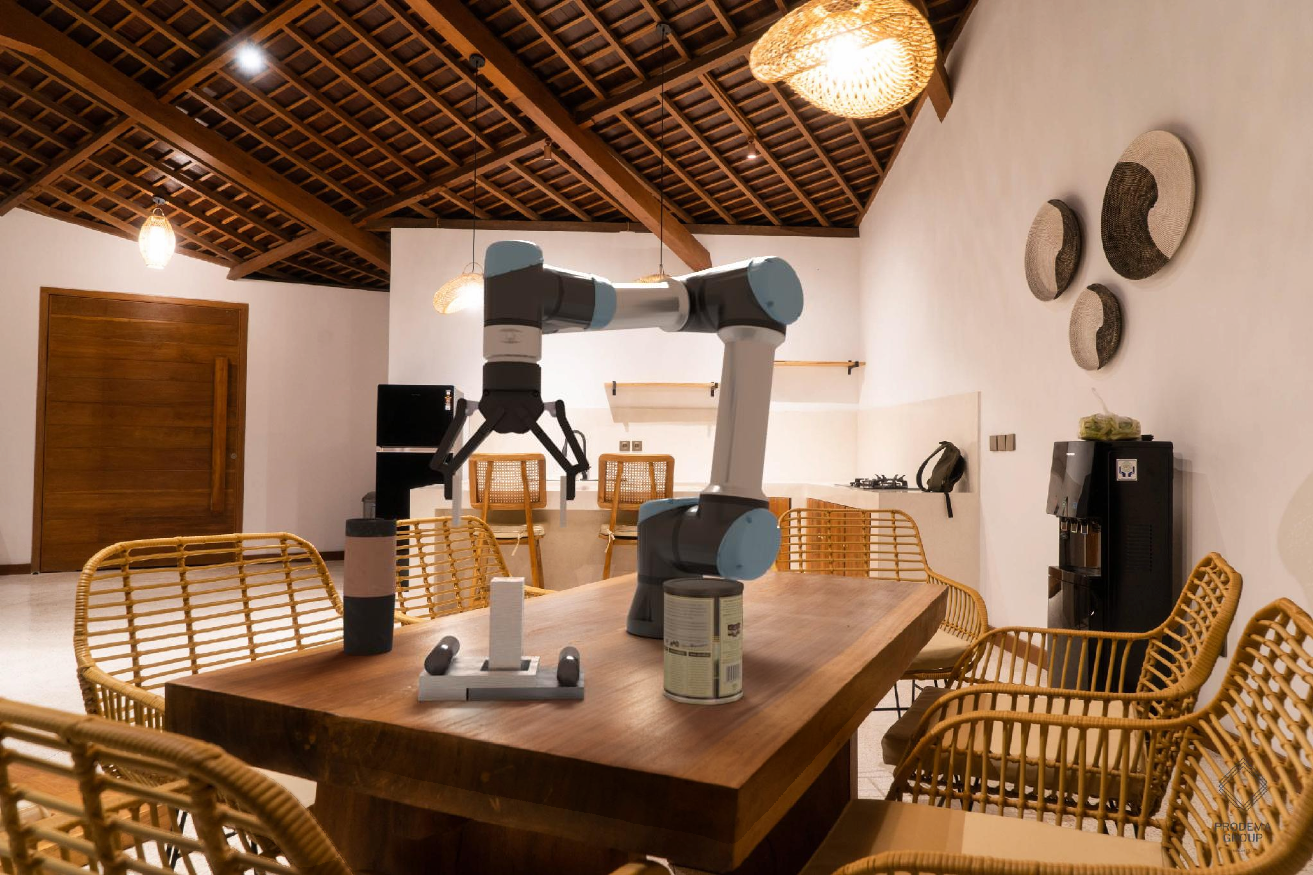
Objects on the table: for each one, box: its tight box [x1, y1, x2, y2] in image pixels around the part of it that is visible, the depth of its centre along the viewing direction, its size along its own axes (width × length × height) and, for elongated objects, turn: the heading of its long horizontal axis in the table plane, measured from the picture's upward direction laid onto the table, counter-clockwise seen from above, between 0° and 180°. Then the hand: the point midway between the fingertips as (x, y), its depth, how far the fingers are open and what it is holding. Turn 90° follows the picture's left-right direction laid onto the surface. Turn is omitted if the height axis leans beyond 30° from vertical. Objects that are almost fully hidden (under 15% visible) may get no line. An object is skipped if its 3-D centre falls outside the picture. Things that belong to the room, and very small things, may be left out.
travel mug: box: [342, 517, 398, 656], centre depth 127 cm, size 8×8×20 cm
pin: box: [488, 576, 526, 671], centre depth 106 cm, size 4×4×14 cm
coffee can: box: [662, 577, 745, 706], centre depth 105 cm, size 10×10×14 cm
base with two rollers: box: [417, 635, 585, 702], centre depth 106 cm, size 20×10×6 cm, turn 95°
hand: (510, 526), depth 107 cm, fingers open, 13 cm apart
